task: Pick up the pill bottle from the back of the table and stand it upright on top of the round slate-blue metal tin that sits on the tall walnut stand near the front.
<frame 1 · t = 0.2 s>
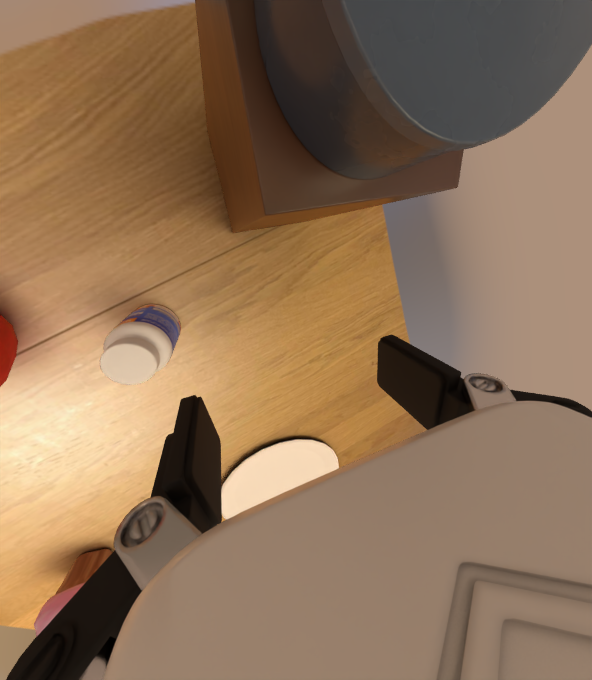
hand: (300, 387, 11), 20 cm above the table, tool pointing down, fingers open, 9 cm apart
pill bottle: (157, 325, 27), on the table
tin: (373, 34, 7), point 20 cm above the table, touching stand
plate: (281, 481, 46), on the table
cupcake: (99, 554, 38), on the table
stand: (262, 181, 24), on the table
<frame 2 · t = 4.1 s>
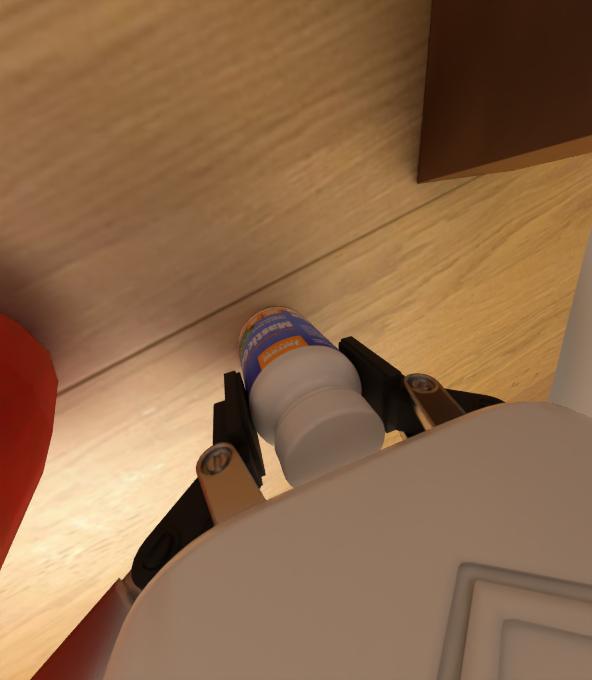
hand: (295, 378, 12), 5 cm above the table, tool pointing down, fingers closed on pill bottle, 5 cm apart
pill bottle: (274, 340, 16), on the table, touching gripper
stand: (484, 88, 14), on the table
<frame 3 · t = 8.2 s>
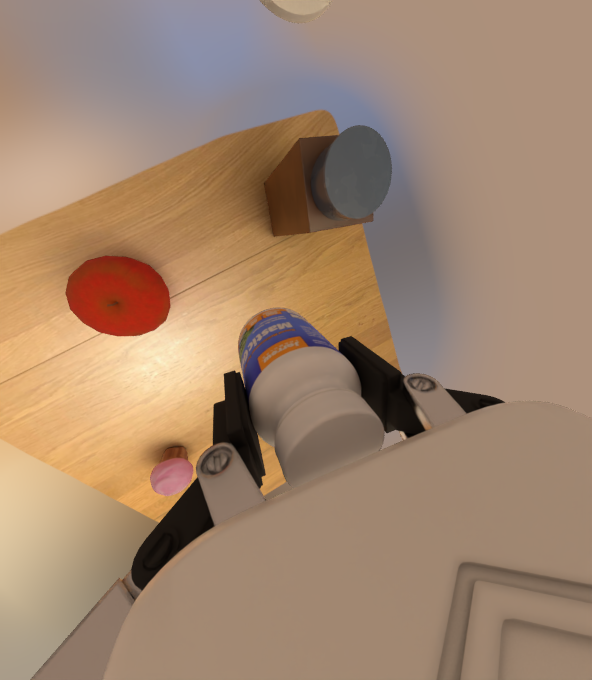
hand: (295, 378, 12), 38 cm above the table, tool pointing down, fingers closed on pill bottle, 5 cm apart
pill bottle: (274, 341, 16), point 33 cm above the table, touching gripper
apple: (141, 287, 41), on the table
tin: (340, 184, 26), point 20 cm above the table, touching stand
cupcake: (176, 451, 57), on the table
stand: (291, 207, 43), on the table
when the fingers open (29 cm above the table, at t = 12.4 s): pill bottle stays where it is, resting on tin.
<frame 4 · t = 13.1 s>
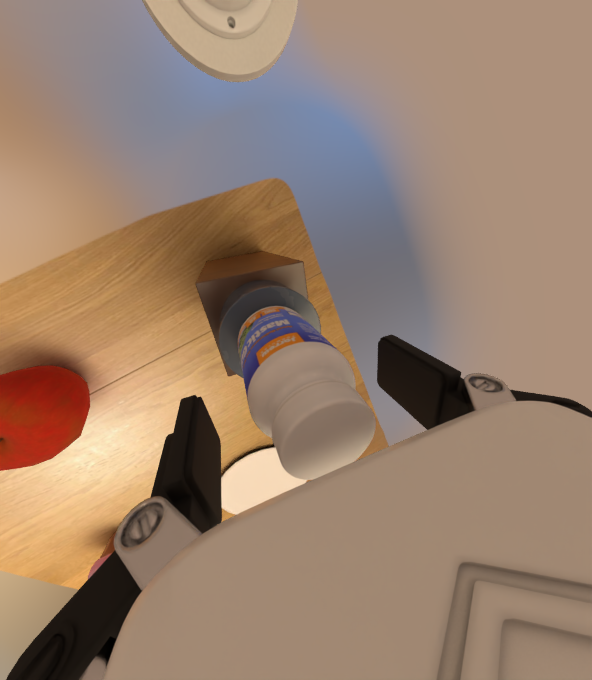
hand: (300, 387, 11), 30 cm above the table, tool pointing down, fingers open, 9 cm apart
pill bottle: (273, 338, 17), point 24 cm above the table, touching tin
apple: (63, 381, 35), on the table
tin: (263, 322, 20), point 20 cm above the table, touching pill bottle, stand
plate: (265, 478, 59), on the table
cupcake: (127, 532, 52), on the table
stand: (242, 283, 37), on the table
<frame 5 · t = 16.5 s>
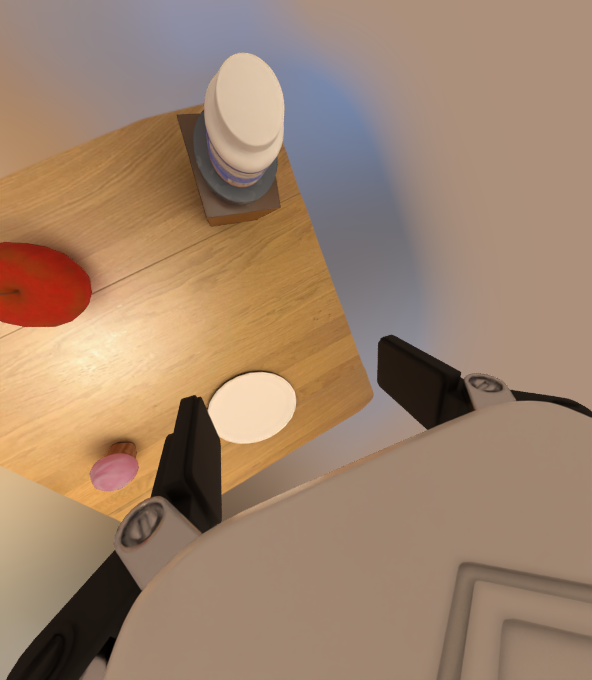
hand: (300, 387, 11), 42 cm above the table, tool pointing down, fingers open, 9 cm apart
pill bottle: (237, 155, 21), point 24 cm above the table, touching tin
apple: (67, 278, 40), on the table
tin: (234, 166, 25), point 20 cm above the table, touching pill bottle, stand
plate: (253, 407, 64), on the table
cupcake: (125, 447, 56), on the table
stand: (227, 196, 42), on the table
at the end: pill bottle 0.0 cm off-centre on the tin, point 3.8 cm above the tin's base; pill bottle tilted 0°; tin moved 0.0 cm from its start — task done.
